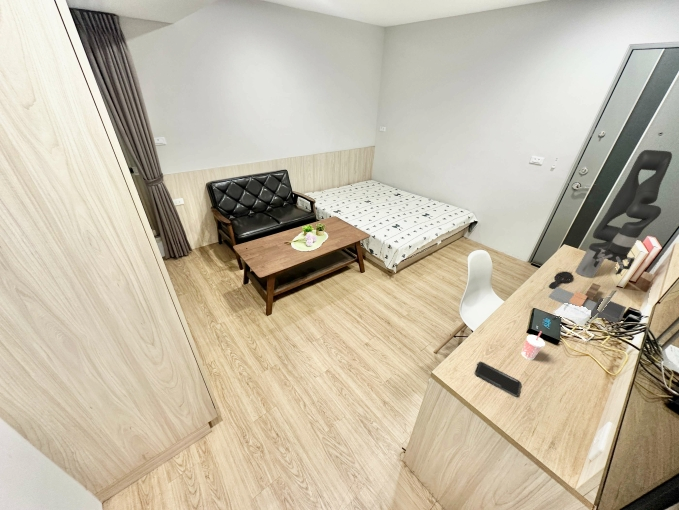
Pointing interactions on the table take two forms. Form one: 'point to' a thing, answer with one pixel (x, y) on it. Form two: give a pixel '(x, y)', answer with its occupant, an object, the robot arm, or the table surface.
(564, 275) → the hairbrush
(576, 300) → the tile
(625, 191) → the robot arm
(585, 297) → the tile
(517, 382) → the phone
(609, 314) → the tray
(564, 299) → the board
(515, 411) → the table surface
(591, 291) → the brown wooden block
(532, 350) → the beverage cup
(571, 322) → the phone case
